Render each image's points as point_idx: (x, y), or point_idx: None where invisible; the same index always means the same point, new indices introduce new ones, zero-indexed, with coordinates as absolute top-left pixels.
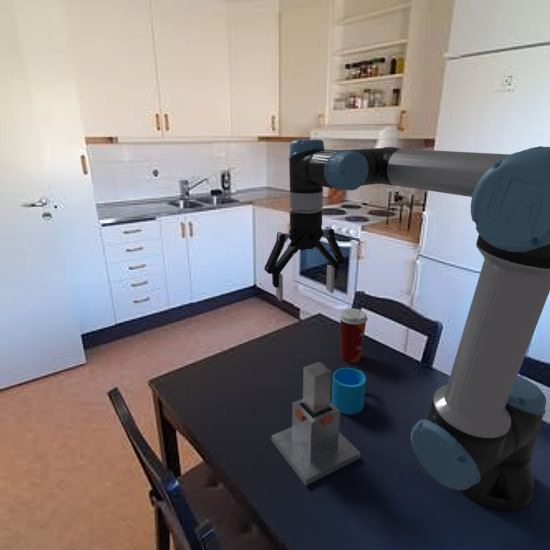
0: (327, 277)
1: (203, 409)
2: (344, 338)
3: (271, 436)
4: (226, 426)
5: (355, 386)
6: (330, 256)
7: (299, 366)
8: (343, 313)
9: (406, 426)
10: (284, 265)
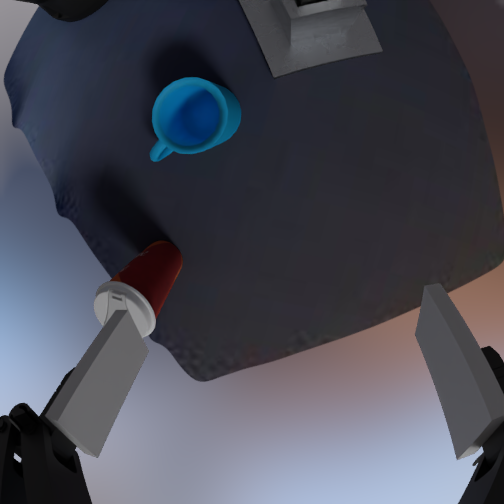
0: (118, 396)
1: (470, 170)
2: (161, 275)
3: (382, 51)
4: (445, 114)
5: (185, 79)
6: (33, 496)
7: (274, 251)
8: (141, 325)
9: (131, 53)
10: (492, 501)
